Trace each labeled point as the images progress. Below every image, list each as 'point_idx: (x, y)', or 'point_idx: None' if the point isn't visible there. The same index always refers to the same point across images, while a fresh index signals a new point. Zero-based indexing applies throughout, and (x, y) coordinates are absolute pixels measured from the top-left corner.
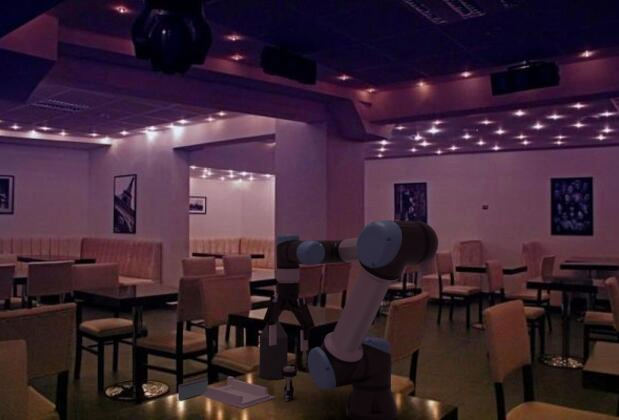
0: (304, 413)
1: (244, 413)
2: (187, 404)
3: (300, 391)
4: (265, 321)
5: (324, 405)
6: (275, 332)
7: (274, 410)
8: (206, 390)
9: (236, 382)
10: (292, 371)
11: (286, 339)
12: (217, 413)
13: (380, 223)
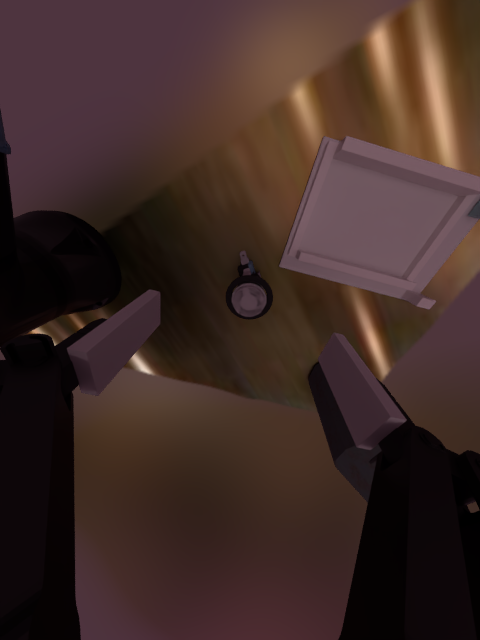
0: (168, 193)
1: (302, 96)
2: None
3: (251, 324)
4: (469, 460)
5: (167, 267)
6: (340, 399)
7: (239, 176)
8: (478, 210)
9: (398, 278)
10: (234, 293)
11: (332, 452)
12: (389, 33)
13: None
